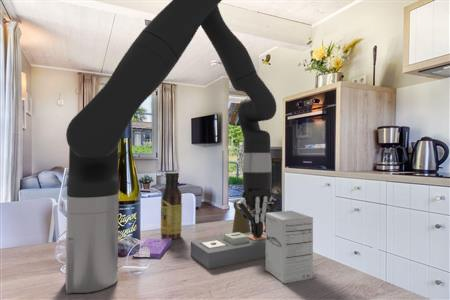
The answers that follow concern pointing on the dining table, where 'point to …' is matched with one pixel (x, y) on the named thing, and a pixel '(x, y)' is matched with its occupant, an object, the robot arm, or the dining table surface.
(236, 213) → the cork
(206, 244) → the cream key
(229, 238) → the sage key
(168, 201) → the sauce bottle
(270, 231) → the supplement box
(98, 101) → the robot arm
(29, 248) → the dining table surface
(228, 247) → the keypad
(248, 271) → the dining table surface
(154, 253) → the sponges
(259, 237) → the terracotta key
